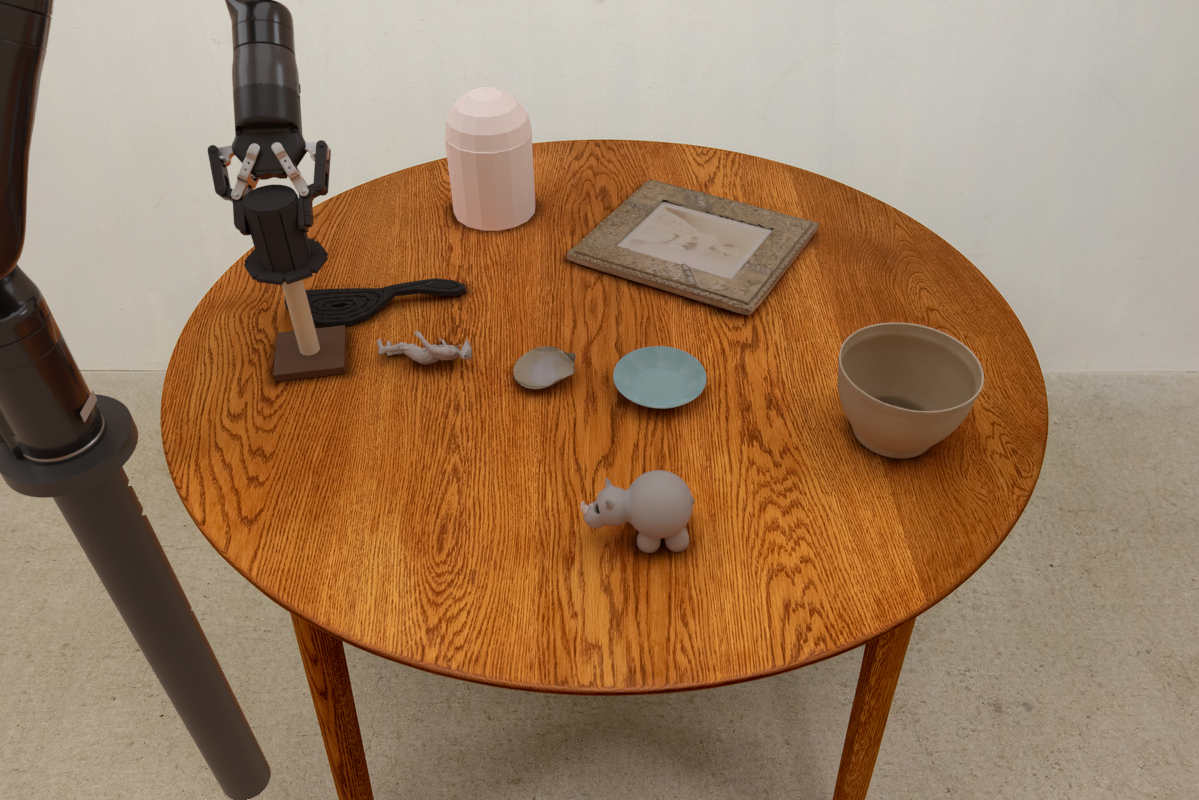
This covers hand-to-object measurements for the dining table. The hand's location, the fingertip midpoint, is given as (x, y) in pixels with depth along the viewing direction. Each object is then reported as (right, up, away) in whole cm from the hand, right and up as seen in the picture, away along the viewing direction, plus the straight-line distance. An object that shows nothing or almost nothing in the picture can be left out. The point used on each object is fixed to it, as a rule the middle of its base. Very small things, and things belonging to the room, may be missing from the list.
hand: (274, 232), depth 111 cm
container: (+21, +11, +43) cm, 49 cm away
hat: (0, -3, +5) cm, 6 cm away
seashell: (+31, -17, +12) cm, 37 cm away
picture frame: (+53, +4, +34) cm, 63 cm away
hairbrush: (+7, -6, +24) cm, 25 cm away
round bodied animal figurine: (+42, -35, -8) cm, 55 cm away
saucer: (+46, -18, +10) cm, 50 cm away
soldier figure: (+15, -15, +14) cm, 26 cm away
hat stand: (0, -14, +15) cm, 20 cm away
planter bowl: (+74, -24, +4) cm, 78 cm away
